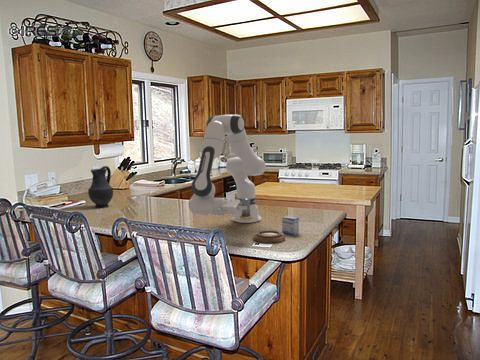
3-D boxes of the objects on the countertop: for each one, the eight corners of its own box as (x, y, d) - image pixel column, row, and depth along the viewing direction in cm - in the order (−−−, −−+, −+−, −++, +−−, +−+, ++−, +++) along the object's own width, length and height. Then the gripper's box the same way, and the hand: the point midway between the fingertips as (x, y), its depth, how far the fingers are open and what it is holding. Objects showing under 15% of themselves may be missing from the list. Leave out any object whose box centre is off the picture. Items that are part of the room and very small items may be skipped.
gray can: (240, 216, 209) (240, 197, 208) (252, 216, 208) (252, 197, 207) (239, 219, 203) (238, 199, 201) (251, 219, 202) (251, 199, 201)
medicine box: (281, 233, 217) (281, 217, 216) (286, 231, 220) (286, 215, 219) (294, 235, 212) (294, 219, 211) (299, 233, 216) (299, 217, 215)
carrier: (254, 234, 214) (254, 229, 214) (284, 235, 213) (284, 229, 212) (252, 243, 198) (252, 237, 198) (285, 243, 197) (285, 237, 196)
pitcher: (84, 208, 298) (81, 167, 294) (101, 203, 317) (99, 165, 314) (104, 209, 293) (102, 168, 289) (121, 204, 312) (119, 165, 309)
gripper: (217, 204, 195) (245, 204, 194) (223, 196, 216) (249, 196, 214) (217, 216, 196) (245, 217, 195) (223, 208, 216) (249, 208, 215)
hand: (247, 206), depth 205 cm, fingers closed on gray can, 4 cm apart
